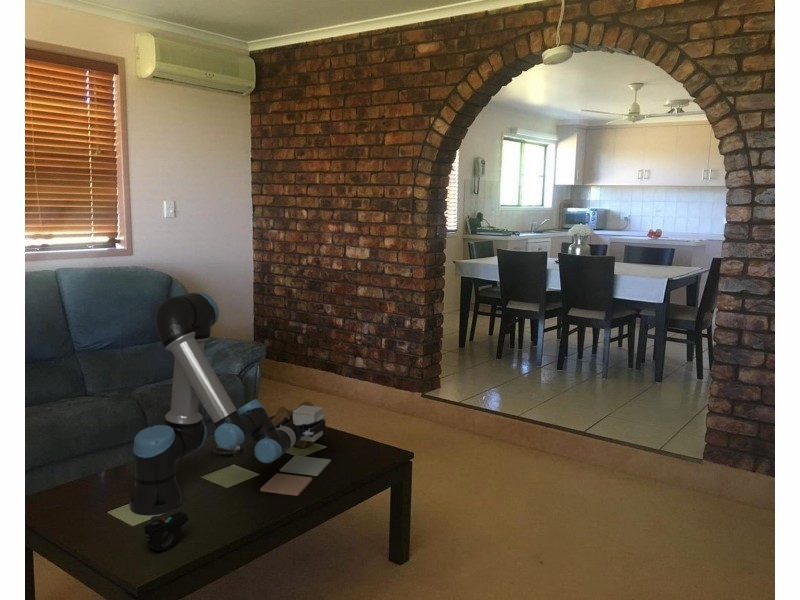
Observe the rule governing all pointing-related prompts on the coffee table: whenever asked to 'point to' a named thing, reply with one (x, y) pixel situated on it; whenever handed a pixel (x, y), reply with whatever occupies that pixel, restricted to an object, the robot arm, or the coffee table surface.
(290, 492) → the thin square tile
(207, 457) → the coffee table surface
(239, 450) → the log
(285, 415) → the rough brown rock
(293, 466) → the mat
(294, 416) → the white box
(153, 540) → the controller
